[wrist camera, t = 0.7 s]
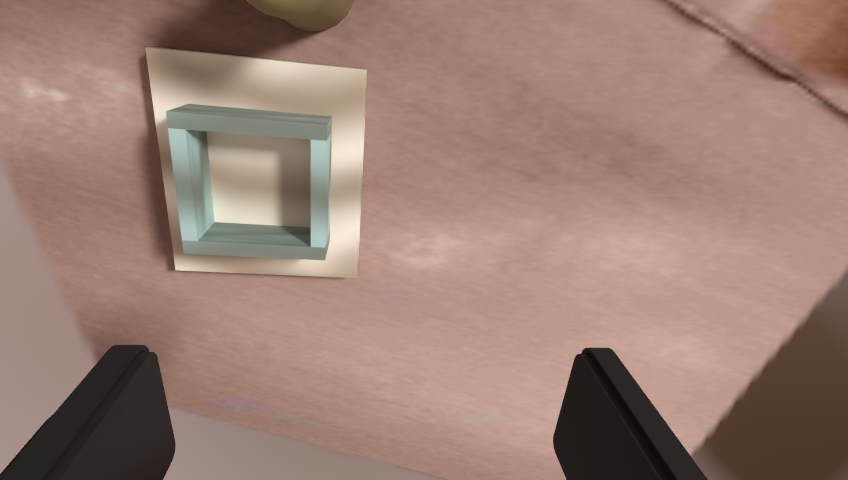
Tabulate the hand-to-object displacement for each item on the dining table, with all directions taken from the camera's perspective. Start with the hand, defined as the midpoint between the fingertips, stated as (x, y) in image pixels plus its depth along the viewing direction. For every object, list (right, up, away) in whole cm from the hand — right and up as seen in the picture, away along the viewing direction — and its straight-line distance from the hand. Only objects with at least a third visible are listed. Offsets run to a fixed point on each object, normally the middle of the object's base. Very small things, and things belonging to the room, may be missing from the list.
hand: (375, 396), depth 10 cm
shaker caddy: (-11, +9, +24) cm, 27 cm away
